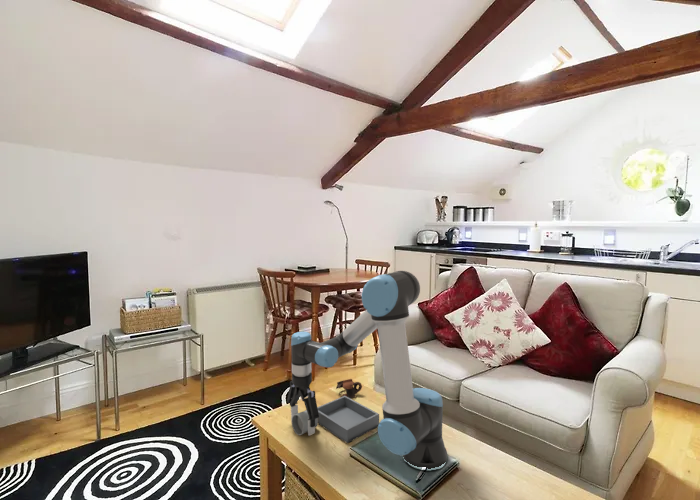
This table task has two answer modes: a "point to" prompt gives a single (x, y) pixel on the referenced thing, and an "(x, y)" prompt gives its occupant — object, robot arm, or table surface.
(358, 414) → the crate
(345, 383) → the brown clay vessel
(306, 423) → the ceramic mug
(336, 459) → the table surface
